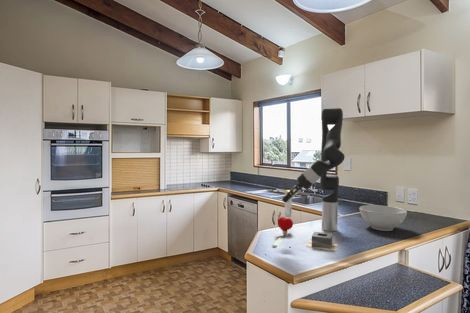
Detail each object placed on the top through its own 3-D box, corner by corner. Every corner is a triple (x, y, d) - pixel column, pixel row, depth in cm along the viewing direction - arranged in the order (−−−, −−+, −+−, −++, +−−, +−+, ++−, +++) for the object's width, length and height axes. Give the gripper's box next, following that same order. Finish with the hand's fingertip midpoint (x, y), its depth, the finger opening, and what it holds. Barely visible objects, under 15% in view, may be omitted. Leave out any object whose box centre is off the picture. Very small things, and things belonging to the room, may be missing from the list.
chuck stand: (309, 242, 164) (310, 229, 164) (337, 245, 159) (338, 233, 158) (305, 250, 151) (305, 236, 151) (335, 254, 146) (336, 240, 145)
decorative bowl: (351, 228, 194) (352, 208, 194) (368, 221, 213) (369, 203, 213) (398, 237, 175) (398, 215, 175) (412, 228, 194) (412, 209, 194)
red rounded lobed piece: (295, 235, 176) (295, 218, 175) (288, 238, 170) (289, 220, 170) (281, 232, 182) (281, 215, 181) (274, 234, 177) (274, 217, 176)
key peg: (285, 215, 161) (285, 190, 161) (292, 215, 160) (292, 190, 160) (283, 216, 158) (284, 191, 158) (290, 217, 157) (290, 191, 156)
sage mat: (279, 239, 168) (279, 237, 168) (301, 242, 164) (301, 240, 164) (272, 246, 155) (272, 244, 155) (296, 250, 151) (296, 248, 151)
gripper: (305, 171, 162) (282, 193, 167) (300, 173, 149) (275, 196, 154) (316, 182, 160) (292, 203, 165) (312, 184, 147) (286, 208, 152)
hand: (284, 200), depth 159 cm, fingers closed on key peg, 3 cm apart
